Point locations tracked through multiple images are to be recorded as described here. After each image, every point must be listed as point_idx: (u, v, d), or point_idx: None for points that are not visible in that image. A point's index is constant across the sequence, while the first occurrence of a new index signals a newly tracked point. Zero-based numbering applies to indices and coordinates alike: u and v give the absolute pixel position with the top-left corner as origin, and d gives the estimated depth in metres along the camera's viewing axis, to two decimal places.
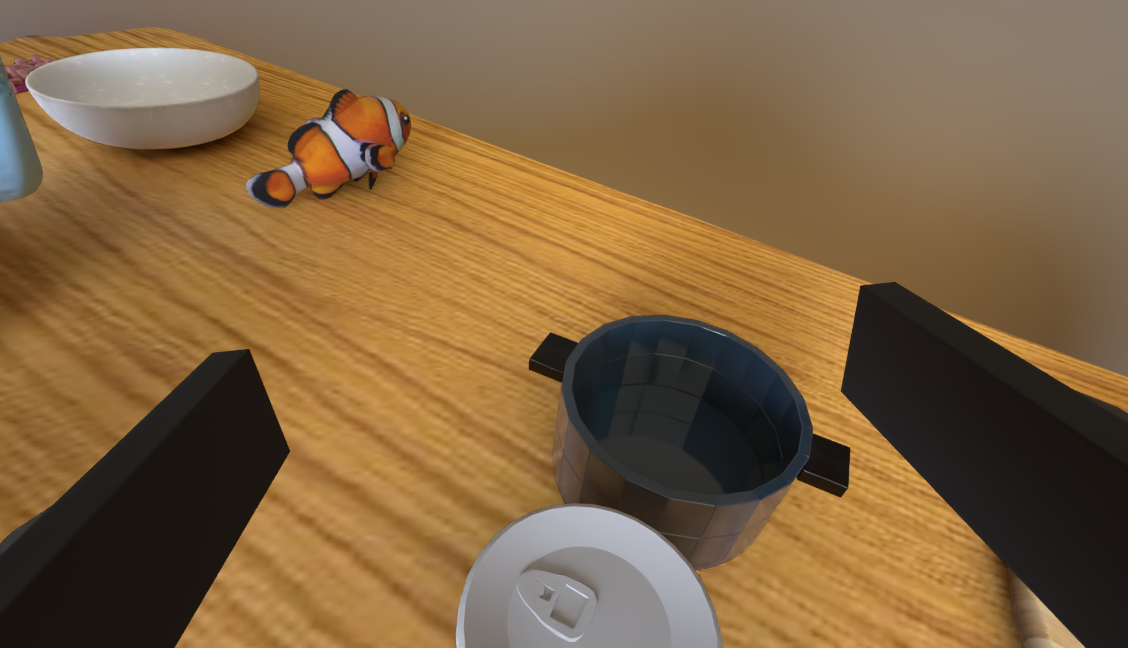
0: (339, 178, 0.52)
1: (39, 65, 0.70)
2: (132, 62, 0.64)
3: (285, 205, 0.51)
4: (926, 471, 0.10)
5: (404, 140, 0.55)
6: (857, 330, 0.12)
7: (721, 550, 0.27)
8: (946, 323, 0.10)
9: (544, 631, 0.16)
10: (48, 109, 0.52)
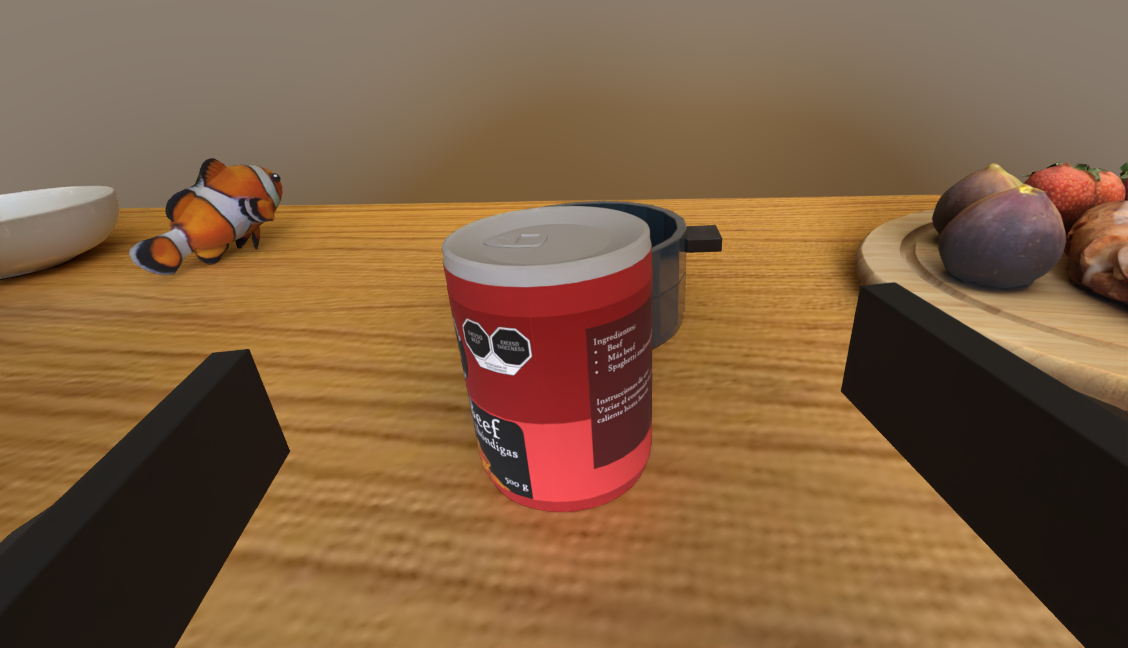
0: (223, 234, 0.54)
1: None
2: None
3: (173, 271, 0.52)
4: (926, 471, 0.10)
5: (279, 196, 0.60)
6: (857, 330, 0.12)
7: (652, 322, 0.32)
8: (946, 323, 0.10)
9: (514, 249, 0.20)
10: None
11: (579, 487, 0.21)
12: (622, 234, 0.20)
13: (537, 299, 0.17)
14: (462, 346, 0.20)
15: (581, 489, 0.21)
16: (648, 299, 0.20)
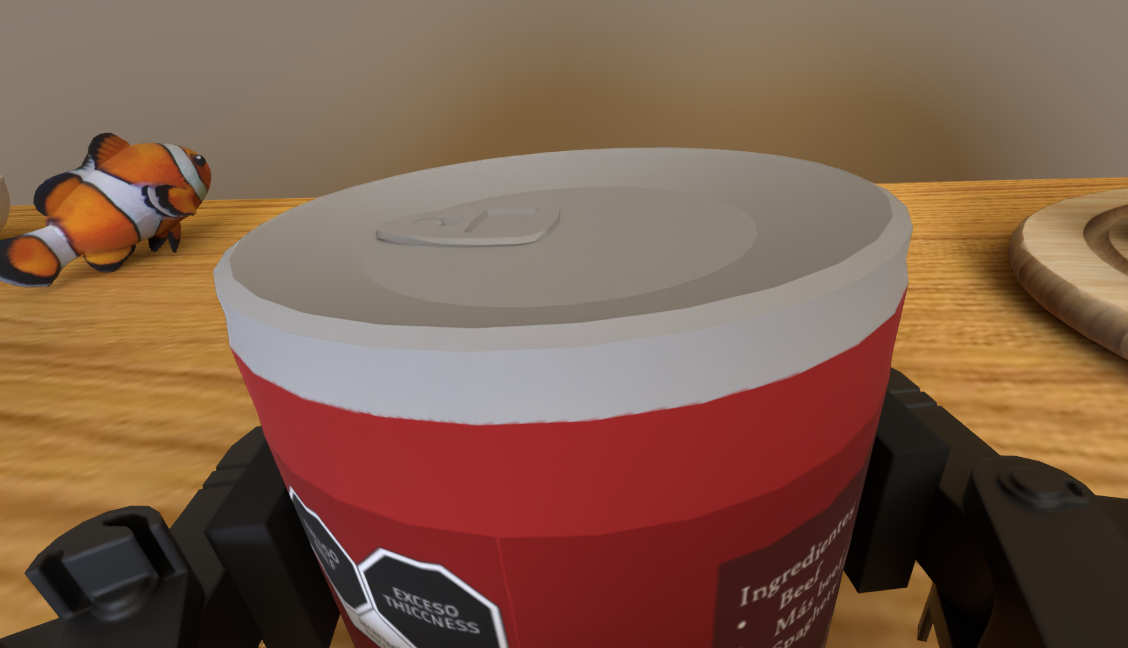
0: (120, 233, 0.41)
1: None
2: None
3: (47, 283, 0.39)
4: None
5: (204, 184, 0.46)
6: None
7: None
8: None
9: (458, 251, 0.06)
10: None
11: None
12: (788, 206, 0.07)
13: (524, 473, 0.04)
14: None
15: None
16: None
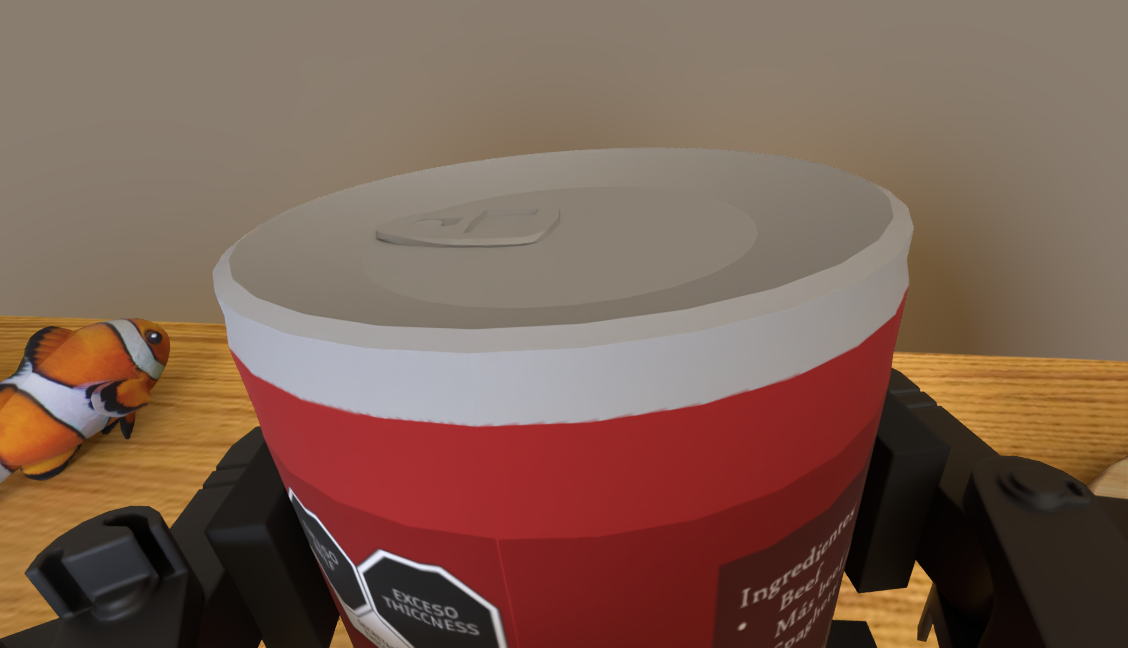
0: (61, 444, 0.36)
1: None
2: None
3: None
4: None
5: (160, 362, 0.42)
6: None
7: None
8: None
9: (458, 252, 0.06)
10: None
11: None
12: (789, 206, 0.07)
13: (524, 475, 0.04)
14: None
15: None
16: None
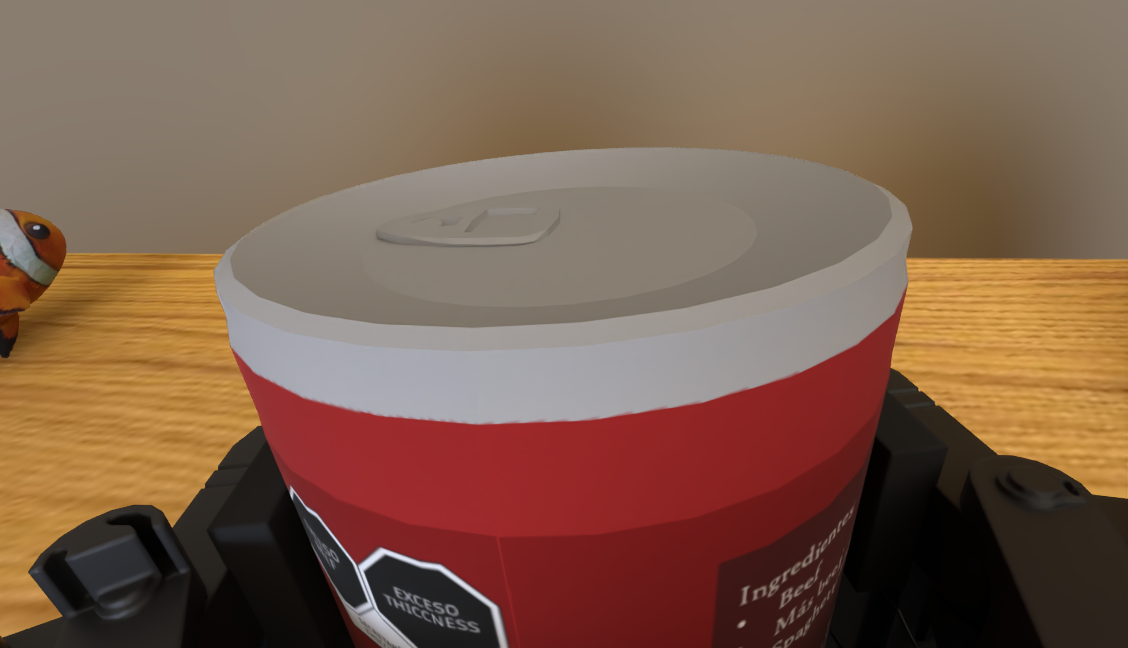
0: None
1: None
2: None
3: None
4: None
5: (47, 263, 0.34)
6: None
7: None
8: None
9: (459, 251, 0.06)
10: None
11: None
12: (788, 205, 0.07)
13: (524, 473, 0.04)
14: None
15: None
16: None
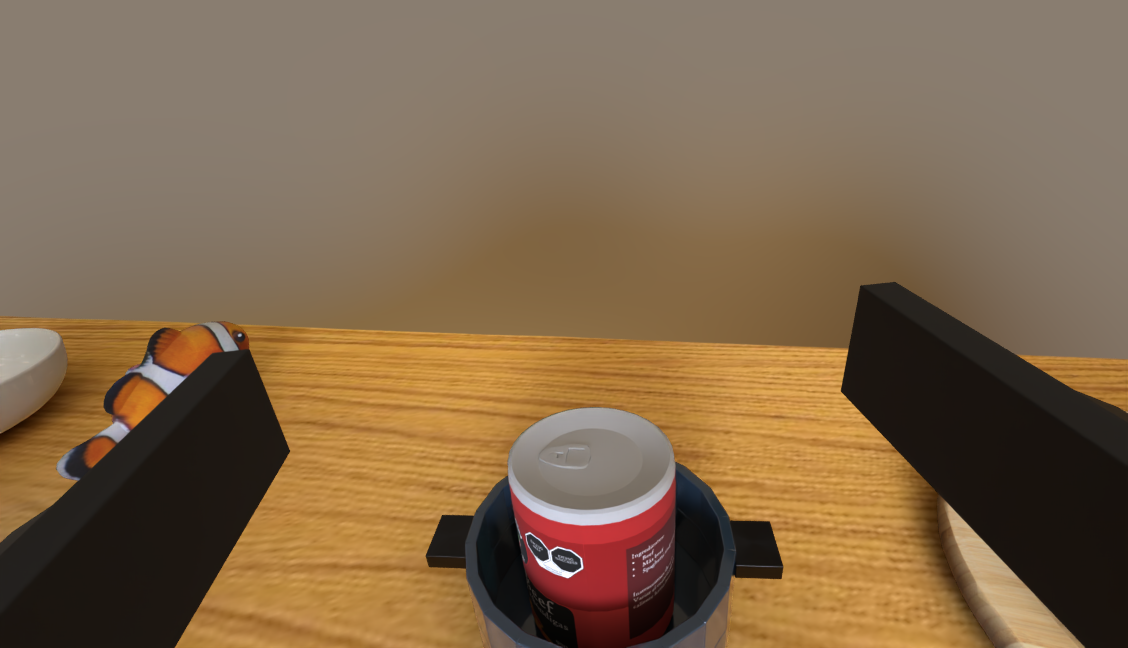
0: None
1: None
2: None
3: None
4: (926, 471, 0.10)
5: None
6: (857, 330, 0.12)
7: None
8: (946, 323, 0.10)
9: (565, 470, 0.25)
10: None
11: None
12: (651, 456, 0.25)
13: (588, 533, 0.22)
14: (523, 543, 0.25)
15: None
16: (673, 509, 0.25)
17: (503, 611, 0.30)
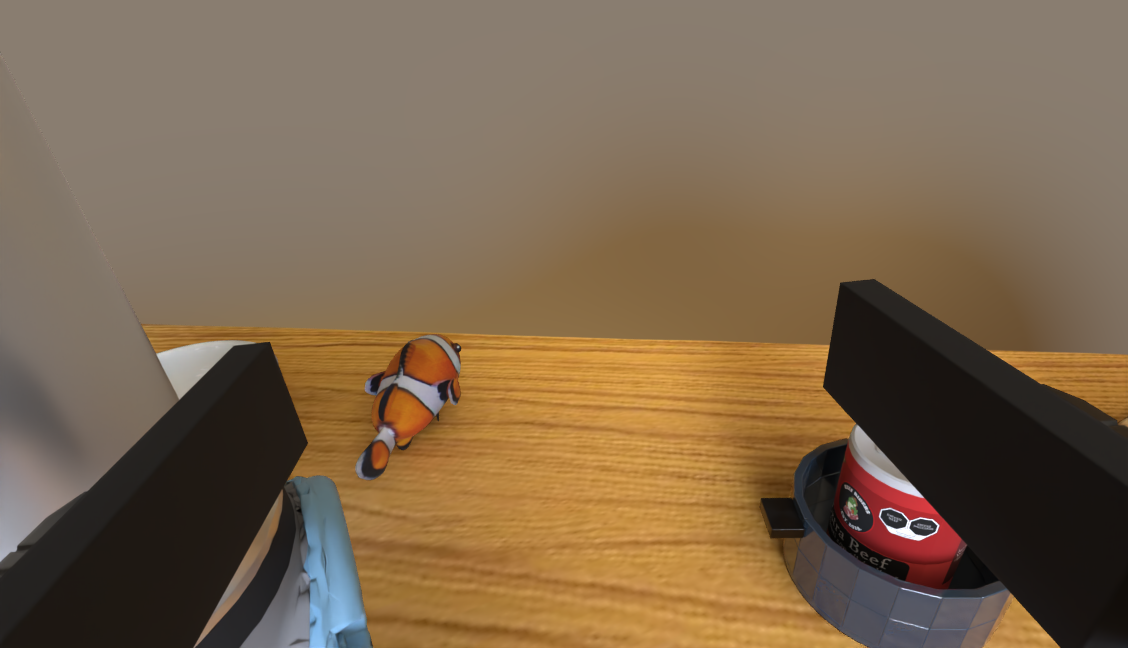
0: (426, 424, 0.53)
1: None
2: None
3: (383, 471, 0.51)
4: (902, 464, 0.10)
5: None
6: (837, 326, 0.12)
7: (1001, 619, 0.34)
8: (920, 319, 0.10)
9: None
10: None
11: None
12: None
13: None
14: (870, 517, 0.34)
15: None
16: None
17: None
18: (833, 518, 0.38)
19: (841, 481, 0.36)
